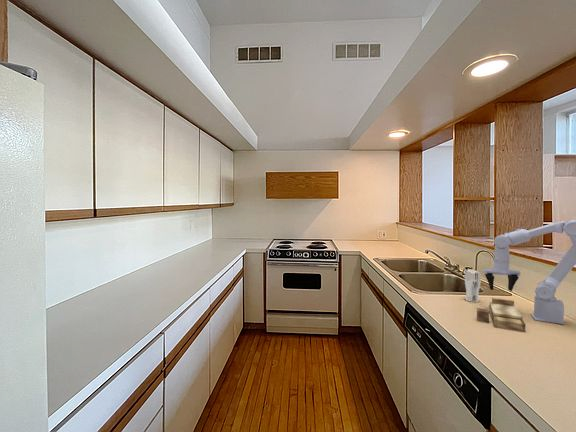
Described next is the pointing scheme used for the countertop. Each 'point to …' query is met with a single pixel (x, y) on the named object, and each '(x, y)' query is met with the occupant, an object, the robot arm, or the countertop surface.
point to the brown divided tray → (507, 322)
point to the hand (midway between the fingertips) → (500, 290)
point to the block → (482, 315)
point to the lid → (505, 308)
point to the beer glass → (472, 285)
